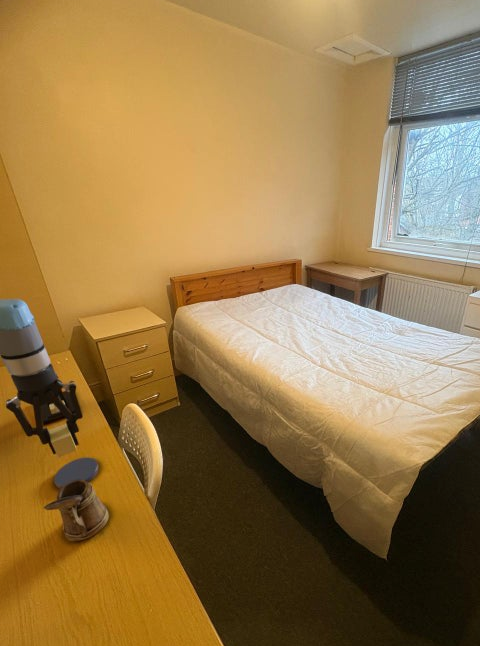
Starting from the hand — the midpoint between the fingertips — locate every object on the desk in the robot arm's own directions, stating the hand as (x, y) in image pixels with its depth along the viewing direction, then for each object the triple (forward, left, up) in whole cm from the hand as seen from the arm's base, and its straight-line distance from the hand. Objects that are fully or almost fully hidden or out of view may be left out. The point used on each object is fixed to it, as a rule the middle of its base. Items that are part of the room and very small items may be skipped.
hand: (65, 446), depth 82 cm
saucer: (0, 0, -10) cm, 10 cm away
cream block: (-21, +24, -9) cm, 33 cm away
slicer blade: (-21, +25, -3) cm, 33 cm away
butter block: (0, 0, 0) cm, 0 cm away
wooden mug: (+12, -16, -10) cm, 23 cm away
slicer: (-25, +29, -10) cm, 39 cm away
